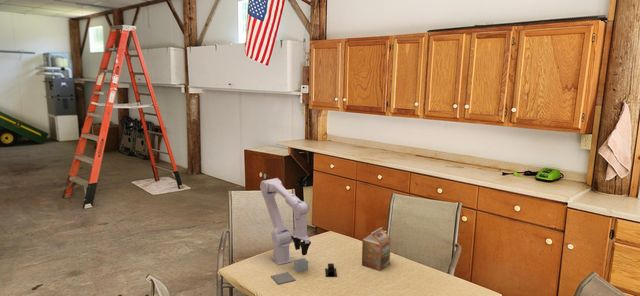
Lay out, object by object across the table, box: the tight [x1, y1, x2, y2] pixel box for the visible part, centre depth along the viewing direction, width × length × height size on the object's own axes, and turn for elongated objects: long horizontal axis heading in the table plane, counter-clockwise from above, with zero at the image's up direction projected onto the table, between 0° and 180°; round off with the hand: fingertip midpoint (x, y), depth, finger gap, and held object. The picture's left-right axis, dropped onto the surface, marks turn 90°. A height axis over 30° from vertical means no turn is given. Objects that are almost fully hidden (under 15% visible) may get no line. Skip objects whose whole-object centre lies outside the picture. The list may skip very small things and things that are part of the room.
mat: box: [270, 271, 296, 286], centre depth 207 cm, size 9×9×1 cm
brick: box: [293, 257, 309, 273], centre depth 217 cm, size 4×6×5 cm, turn 119°
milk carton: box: [361, 226, 392, 272], centre depth 222 cm, size 10×11×19 cm
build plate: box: [324, 263, 338, 278], centre depth 214 cm, size 12×7×5 cm, turn 2°
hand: (300, 252), depth 216 cm, fingers open, 7 cm apart
